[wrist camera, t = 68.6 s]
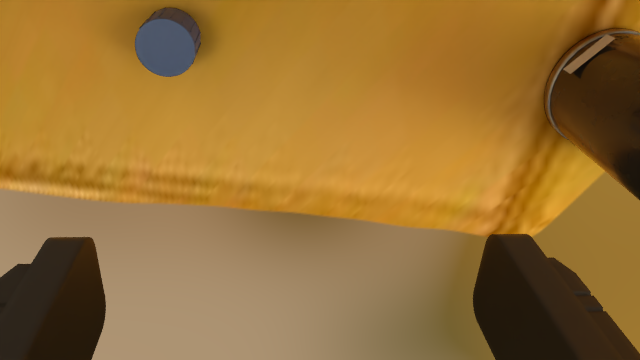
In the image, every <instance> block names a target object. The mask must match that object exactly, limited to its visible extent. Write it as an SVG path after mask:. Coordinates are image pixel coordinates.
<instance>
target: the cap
mask: <svg viewBox="0 0 640 360" xmlns="http://www.w3.org/2000/svg"><path fill="white" fill-rule="evenodd" d="M139 29H140V30H139V31H138V33H137V35H136V39H135V49H136V53H137V56H138V58H139V60H140V61H141V63H142V64H143V65H144V66H145V67H146V68H147V69H148V70H149V71H151V72H153V73H155V74H157V75H160V76H166V77H172V76H177V75H180V74H182V73H183V72H185V71H186V70H187V69H188V68H189V67H190V66H191V64H193V62H194V59H195V57H196V54H197V52H198V49H199V47H200V44H201V43H200V31H199V28H198V26H197V24H196V22H195V21H194V20H193V18H192V17H191V16H190V15H188V14H187V13H185V12H184V11H182V10H179V9H177V8H176V9H175V8H164V9H161V10H158V11H157V12H156V11H155V12H154V13H153V14H152V15H151V17H150V18H149V19H147V20H146V21H145V22H144V24H143V25H142V26H141V27H140V28H139Z"/></svg>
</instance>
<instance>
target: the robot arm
mask: <svg viewBox="0 0 640 360" xmlns="http://www.w3.org/2000/svg"><path fill="white" fill-rule="evenodd" d="M544 107H545V113H546V116H547V119H548V120H549V122H550V124H551V125H552V127H553V128H554V129H555V130H556V131H557V132H558V133H560V134H561V135H562V136H563V137H565V138H566V139H568V140H570V141H571V142H572V143H573V144H574V145H576V146H577V147H578V148H579V149H580V150H581V151H582V152H584V153H585V154H586V155H587V156H588V157H589V158H591V159H592V160H593V161H594V162H595V163H597V164H598V165H599V166H600V167H601V168H602V169H604V170H605V171H606V172H607V173H608V174H609V175H611V176H612V177H613V178H614V179H615V180H617V181H618V182H619V183H620V184H621V185H622V186H624V187H625V188H626V189H627V190H628V191H629V192H631V193H632V194H633V195H634V196H635V197H637V198H638V199H639V200H640V33H638V32H636V31H633V30H629V29H609V30H604V31H601V32H598V33H595V34H593V35H590V36H588V37H587V38H585V39H583V40H581V41H580V42H578V43H577V44H576V45H574V46H573V47H572V48H571V49H570V50H569V51H568V52H567V53H566V54H565V55H564V56H563V57H562V58H561V59H560V60H559V62H558V63H557V65H556V66H555V68H554V69H553V71H552V73H551V75H550V77H549V80H548V82H547V85H546V89H545V95H544ZM473 306H474V313H475V316H476V319H477V322H478V324H479V326H480V328H481V330H482V332H483V334H484V336H485V339H486V340H487V343H488V345H489V347H490V349H491V351H492V353H493V355H494V357H495V359H496V360H640V354H639V352H638V351H637V350H636V349H635V347H633V345H632V344H631V342H630V341H629V340H628V339H627V337H626V336H625V335H624V333H623V332H622V331H621V330H620V329H619V327H618V326H617V325H616V323H615V322H614V321H613V320H612V318H611V317H610V316H609V315H608V313H607V312H606V311H603V307H602V306H601V304H600V303H599V302H598V301H597V299H596V298H595V297H594V296H591V294H590V291H589V289H588V288H587V287H586V286H585V284H584V283H583V282H582V281H581V279H580V278H579V277H578V276H577V274H576V273H574V272H573V271H572V270H570V269H569V268H567V267H566V266H565V265H563V264H562V263H560V262H559V261H557V260H556V259H555V258H547V257H546V256H545V254H544V253H543V252H542V250H541V249H540V248H539V246H538V245H537V244H536V242H535V241H534V240H533V238H532V237H531V236H529V235H527V234H492V235H490V236H489V237H488V239H487V241H486V244H485V248H484V252H483V256H482V260H481V264H480V268H479V272H478V276H477V280H476V284H475V288H474V294H473ZM105 308H106V302H105V294H104V289H103V284H102V278H101V274H100V268H99V263H98V258H97V252H96V247H95V244H94V241H93V239H92V238H90V237H59V238H58V237H56V238H48V239H47V240H46V241H45V243H44V244H43V246H42V247H41V249H40V251H39V252H38V254H37V256H36V257H35V259H34V260H33V262H32V263H31V264H17V266H15V267H14V268H12V269H11V270H10V271H8V272H7V273H6V274H4V275H3V276H2V277H0V360H91V359H92V356H93V354H94V351H95V348H96V346H97V343H98V340H99V337H100V335H101V332H102V329H103V325H104V320H105V311H106V309H105Z"/></svg>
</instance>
